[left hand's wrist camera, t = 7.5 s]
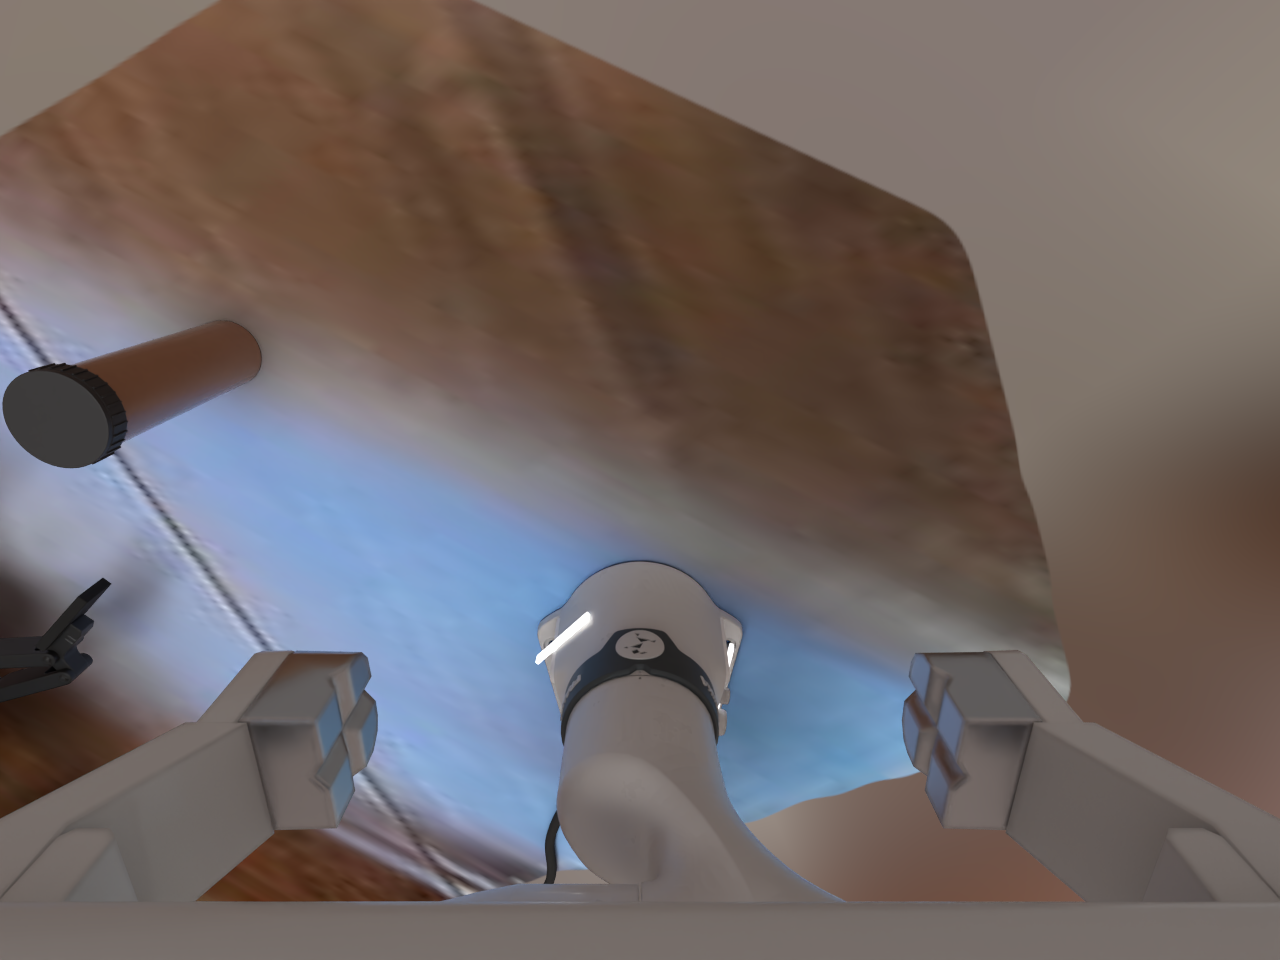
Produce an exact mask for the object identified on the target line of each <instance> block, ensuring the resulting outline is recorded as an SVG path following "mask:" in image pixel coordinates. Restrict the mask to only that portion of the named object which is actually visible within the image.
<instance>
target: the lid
mask: <svg viewBox="0 0 1280 960" xmlns="http://www.w3.org/2000/svg"><path fill="white" fill-rule="evenodd" d="M28 371H29V372H26V373H24V374H21V375H20V376H18V377H16V378H15V379H14V380H13V381H12V382H11V383H10V384H9V386H8V387H7V389H6V391H5V394H4V397H3V414H4V418H5V422H6V424H7V426H8V429H9V430H10V432H11V434H12V435H13V437H14V438H15V439H16V441H17V442H18V443H19V444H20V445H21V446H22V447H23V448H24V449H25V450H26V451H27V452H29V453H30V454H31V455H33V456H34V457H36V458H38V459H39V460H41V461H43V462H45V463H48V464H51V465H54V466H57V467H63V468H80V467H84V466H87V465H90V464H95V463H97V462H99V461H101V460H103V459H105V458H107V457H108V456H110V455H113V454H114V451H116V450H117V449H119V448H121V446H120V445H121V444H122V442H123V441H125V440H126V439H124V438H125V436H126V433H127V432H128V430H127V423H128V421H127V417H126V411H125V409H124V407H123V404H122V401H121V400H120V399H119V397H118V396H117V394H116V391H114V390H113V389H112V388H111V387H110V386H109V385H108V383H107V382H105V381H104V380H102V379H101V378H100V377H98V376H99V375H95V374H94V373H92V372H90V371H88V369H83V368H80V367H77V365H67V364H66V363H62V364H57V365H55V363H53V364H49V365H46V366H42V367H38V368H35V369H31V370H28Z"/></svg>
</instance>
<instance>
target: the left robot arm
mask: <svg viewBox="0 0 1280 960" xmlns="http://www.w3.org/2000/svg"><path fill="white" fill-rule="evenodd" d="M538 639H539V643H540V646H541V649H542V652H541V653H540V654H538V655H537V659H536V663H537V664H539V663H540V662H542V661H543V660H544V659H545V663H546V666H547V670H548V673H549V676H550V681H551V683H552V686H553V690H554V693H555V697H556V700H557V703H558V707H559V710H560V714H561V721H562V722H561V737H562V743H563V746H564V749H563V757H562V764H561V771H560V779H559V786H558V794H557V811H556V813H555V815H554V817H553V819H552V821H551V823H550V826H549V829H548V832H547V835H546V840H545V854H546V861H547V876H546V880H545V882H544V884H516V885H511V886H506V887H501V888H496V889H491V890H486V891H481V892H477V893H473V894H469V895H465V896H461V897H457V898H453V899H449V900H445V901H441V902H195V901H196V900H197V899H198V898H199V897H200V896H202V895H203V894H204V893H205V892H206V891H207V890H209V889H210V888H211V887H212V886H213V885H214V884H216V883H217V882H218V881H219V880H220V879H221V878H223V877H224V876H225V875H226V874H227V873H228V872H230V871H231V870H232V869H233V868H234V867H235V866H237V865H238V864H239V863H240V862H241V861H242V860H244V859H245V858H246V857H247V856H248V855H249V854H251V853H252V852H253V851H254V850H255V849H256V848H258V847H259V846H260V845H261V844H262V843H263V842H265V841H266V840H267V839H268V838H269V837H270V836H272V835H273V834H274V830H290V829H324V828H337V827H338V825H339V822H340V820H341V818H342V816H343V814H344V812H345V810H346V808H347V806H348V804H349V802H350V800H351V798H352V796H353V794H354V791H355V787H354V782H353V776H354V775H355V774H357V773H358V772H359V771H361V770H362V769H363V768H365V767H366V766H367V764H368V762H369V760H370V757H371V755H372V753H373V750H374V746H375V741H376V736H377V731H378V714H377V707H376V701H375V700H374V699H373V698H372V697H371V696H370V695H369V694H368V693H367V692H366V691H365V690H364V689H365V687H366V685H367V683H368V682H369V680H370V678H371V672H370V667H369V662H368V658H367V657H366V656H365V655H364V654H363V653H362V652H328V651H295V652H294V651H261V652H258V653H256V654H254V655H253V656H252V657H251V658H250V660H249V661H248V662H247V663H246V664H245V666H244V667H243V668H242V669H241V670H240V671H239V673H238V674H237V675H236V676H235V677H234V679H233V680H232V681H231V682H230V683H229V685H228V686H227V687H226V688H225V689H224V690H223V692H222V693H221V694H220V695H219V696H218V698H217V699H216V700H215V701H214V702H213V703H212V705H211V706H210V707H209V708H208V709H207V711H206V712H205V713H204V714H203V715H202V717H201V718H200V719H199V720H198V721H197V722H196V723H184V724H182V725H180V726H178V727H176V728H174V729H172V730H170V731H168V732H166V733H164V734H163V735H161V736H159V737H157V738H155V739H153V740H151V741H149V742H147V743H145V744H143V745H141V746H139V747H137V748H136V749H134V750H132V751H130V752H128V753H126V754H124V755H122V756H120V757H118V758H116V759H114V760H112V761H110V762H109V763H107V764H105V765H103V766H101V767H99V768H97V769H95V770H93V771H91V772H89V773H87V774H85V775H83V776H82V777H80V778H78V779H76V780H74V781H72V782H70V783H68V784H66V785H64V786H62V787H60V788H58V789H56V790H55V791H53V792H51V793H49V794H47V795H45V796H43V797H41V798H39V799H37V800H35V801H33V802H31V803H29V804H28V805H26V806H24V807H22V808H20V809H18V810H16V811H14V812H12V813H10V814H8V815H6V816H4V817H2V818H1V819H0V960H1280V819H1279V818H1277V817H1275V816H1273V815H1271V814H1269V813H1267V812H1265V811H1264V810H1262V809H1260V808H1258V807H1256V806H1254V805H1252V804H1250V803H1248V802H1246V801H1244V800H1242V799H1240V798H1239V797H1237V796H1235V795H1233V794H1231V793H1229V792H1227V791H1225V790H1223V789H1221V788H1219V787H1217V786H1215V785H1214V784H1212V783H1210V782H1208V781H1206V780H1204V779H1202V778H1200V777H1198V776H1196V775H1194V774H1192V773H1190V772H1188V771H1187V770H1185V769H1183V768H1181V767H1179V766H1177V765H1175V764H1173V763H1171V762H1169V761H1167V760H1165V759H1164V758H1162V757H1160V756H1158V755H1156V754H1154V753H1152V752H1150V751H1148V750H1146V749H1144V748H1142V747H1141V746H1139V745H1137V744H1135V743H1133V742H1131V741H1129V740H1127V739H1125V738H1123V737H1121V736H1119V735H1117V734H1115V733H1114V732H1112V731H1110V730H1108V729H1106V728H1104V727H1102V726H1100V725H1098V724H1096V723H1084V722H1083V721H1082V720H1081V719H1080V718H1079V717H1078V715H1077V714H1076V713H1075V712H1074V711H1073V709H1072V708H1071V707H1070V706H1069V705H1068V704H1067V702H1066V701H1065V700H1064V699H1063V698H1062V696H1061V695H1060V694H1059V693H1058V692H1057V691H1056V689H1055V688H1054V687H1053V686H1052V685H1051V683H1050V682H1049V681H1048V680H1047V679H1046V678H1045V676H1044V675H1043V674H1042V673H1041V672H1040V670H1039V669H1038V668H1037V667H1036V666H1035V664H1034V663H1033V662H1032V661H1031V660H1030V659H1029V657H1028V656H1027V655H1026V654H1024V653H1022V652H1020V651H1018V650H1010V651H984V652H958V653H915V655H914V657H913V659H912V661H911V666H910V671H909V678H910V680H911V682H912V683H913V685H914V687H915V689H916V690H915V691H914V692H913V693H912V694H911V695H910V696H909V697H908V698H907V699H906V700H905V701H904V708H903V716H902V726H903V739H904V742H905V746H906V750H907V753H908V755H909V757H910V760H911V762H912V764H913V766H914V767H915V768H917V769H918V770H919V771H921V772H922V773H924V774H925V775H926V776H927V782H926V787H925V791H926V794H927V796H928V798H929V800H930V802H931V804H932V806H933V808H934V810H935V812H936V814H937V816H938V818H939V820H940V822H941V824H942V826H943V828H954V829H991V830H1006V833H1007V834H1008V835H1009V836H1010V837H1011V838H1012V839H1013V840H1015V841H1016V842H1017V843H1018V844H1019V845H1020V846H1022V847H1023V848H1024V849H1025V850H1026V851H1027V852H1029V853H1030V854H1031V855H1032V856H1033V857H1034V858H1035V859H1037V860H1038V861H1039V862H1040V863H1041V864H1043V865H1044V866H1045V867H1046V868H1047V869H1048V870H1049V871H1051V872H1052V873H1053V874H1054V875H1055V876H1056V877H1058V878H1059V879H1060V880H1061V881H1062V882H1063V883H1065V884H1066V885H1067V886H1068V887H1069V888H1070V889H1072V890H1073V891H1074V892H1075V893H1076V894H1078V895H1079V896H1080V897H1081V898H1082V899H1083V900H1084V901H1086V902H846V901H844V900H842V899H840V898H838V897H836V896H834V895H832V894H830V893H828V892H826V891H824V890H822V889H820V888H819V887H817V886H816V885H814V884H812V883H811V882H809V881H807V880H806V879H804V878H802V877H801V876H800V875H798V874H797V873H795V872H794V871H793V870H791V869H790V868H789V867H787V866H786V865H785V864H784V863H782V862H781V861H780V860H779V859H778V858H777V857H775V856H774V855H773V854H772V853H771V852H770V851H769V850H768V849H767V848H766V847H765V846H764V845H763V844H762V843H761V842H760V841H759V840H758V839H757V838H756V837H755V836H754V835H753V833H752V832H751V831H750V830H749V829H748V828H747V826H746V825H745V824H744V823H743V821H742V820H741V819H740V817H739V816H738V814H737V813H736V811H735V809H734V808H733V806H732V804H731V802H730V800H729V797H728V795H727V791H726V788H725V784H724V780H723V777H722V773H721V768H720V764H719V759H718V753H717V748H716V746H717V743H718V737H719V736H722V735H724V734H725V731H726V725H727V713H726V710H724V709H721V707H722V704H728V703H729V699H730V689H729V688H727V687H728V683H729V681H730V676H731V673H732V670H733V666H734V663H735V660H736V656H737V653H738V649H739V646H740V643H741V639H742V625H741V623H740V622H739V621H738V620H737V619H736V618H735V617H733V616H732V615H730V614H728V613H727V612H725V611H723V610H721V609H719V608H718V607H717V606H716V605H715V604H714V603H713V601H712V600H711V599H710V597H709V596H708V594H707V593H706V592H705V590H704V589H703V588H702V587H701V586H700V585H699V584H698V583H697V582H696V581H695V580H693V579H692V578H691V577H689V576H688V575H686V574H685V573H683V572H681V571H679V570H677V569H675V568H672V567H669V566H666V565H663V564H658V563H653V562H627V563H622V564H617V565H614V566H611V567H608V568H605V569H603V570H601V571H599V572H597V573H595V574H594V575H592V576H591V577H589V578H588V579H587V580H585V581H584V582H583V583H582V584H581V585H580V586H579V587H578V588H577V589H576V590H575V592H574V593H573V594H572V596H571V597H570V599H569V600H568V601H567V603H566V604H565V605H564V606H563V607H562V608H561V609H559V610H557V611H555V612H553V613H552V614H550V615H548V616H547V617H545V618H544V619H543V620H542V621H541V622H540V623H539V625H538ZM551 640H554V641H553V642H552V643H551V642H550V641H551ZM726 640H729V641H730V642H729V643H727V644H726ZM559 826H561V829H562V832H563V834H564V836H565V838H566V840H567V841H568V843H569V844H570V846H571V848H572V849H573V851H574V852H575V853H576V855H577V856H578V858H579V859H580V860H581V861H582V863H583V864H584V865H585V866H586V867H587V868H588V869H589V870H590V871H591V872H593V873H594V874H595V875H596V876H598V877H599V878H601V879H603V880H604V881H606V882H607V883H609V884H554V880H555V877H556V858H555V848H554V844H555V837H556V833H557V830H558V828H559Z"/></svg>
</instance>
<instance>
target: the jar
mask: <svg viewBox="0 0 1280 960" xmlns="http://www.w3.org/2000/svg"><path fill="white" fill-rule="evenodd" d="M72 365H77V367H80V368H83V369H88V371H90V372H92V373H94V374H95V375H99V376H98V377H100V378H101V379H102V380H104V381H105V382H107V383H108V385H109V386H110V387H111V388H112V389H113V390H114V391H116V394H117V396H118V397H119V399H120V400H121V401H122V404H123V407H124V409H125V411H126V417H127V421H128V423H127V430H128V432H127V433H126V436H125V438H124V439H126V440H125V441H127V440H129V439H131V438H133V437H135V436H137V435H139V434H141V433H144V432H146V431H148V430H150V429H152V428H154V427H156V426H158V425H160V424H162V423H164V422H166V421H168V420H170V419H172V418H174V417H177V416H179V415H181V414H183V413H185V412H187V411H189V410H191V409H193V408H195V407H197V406H199V405H201V404H203V403H205V402H207V401H210V400H212V399H214V398H216V397H218V396H220V395H222V394H224V393H226V392H228V391H230V390H232V389H234V388H236V387H238V386H240V385H242V384H245V383H247V382H248V381H250V380H252V379H253V378H254V377H255V376H256V375H257V373H258V371H259V369H260V366H261V352H260V349H259V346H258V344H257V342H256V340H255V339H254V337H253V336H252V335H251V334H250V333H249V332H248V331H247V330H246V329H244V328H243V327H241V326H240V325H238V324H236V323H233V322H230V321H221V320H220V321H214V322H210V323H207V324H203V325H200V326H197V327H194V328H190V329H187V330H184V331H180V332H177V333H174V334H171V335H167V336H164V337H161V338H157V339H154V340H151V341H148V342H144V343H141V344H138V345H134V346H131V347H128V348H125V349H121V350H118V351H115V352H111V353H108V354H105V355H102V356H98V357H95V358H92V359H88V360H85V361H82V362H79V363H75V364H72ZM125 441H123V442H125ZM123 442H122V443H123Z"/></svg>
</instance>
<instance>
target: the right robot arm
mask: <svg viewBox="0 0 1280 960" xmlns="http://www.w3.org/2000/svg"><path fill="white" fill-rule="evenodd" d="M110 585H111V583H110V582H108V581H107V580H105V579H104V578H102V579H100V580H99V581H98V582H97V583H95V584H94V585H93V586H91V587H90V588H89V589H87V590H86V591H85V592H83V593H82V594H81V595H79V596H78V597H77V598H76V599H75V601H74V602H73V603H72V604H71V605H70V606H69V607H68V609H67V610H66V611H65V612H64V613H63V614H62V615H61V616H60V618H59V619H58V620H57V621H56V622H55V623H54V624H53V626H52V627H51V628H50V629H49V630H48V631H47V632H46V633H45V635H44V636H42V637H20V638H0V669H2V668H23V667H30V668H27V669H23V670H19V671H16V672H12V673H9V674H7V675H5V676H4V677H2V678H1V677H0V702H4V701H8V700H11V699H15V698H19V697H22V696H26V695H30V694H34V693H37V692H41V691H45V690H48V689H52V688H56V687H59V686H63V685H67V684H69V683H71V682H72V681H73V680H74V679H75V678H76V677H78V676H79V675H80V674H81V673H82V672H83V671H84V670H85V669H86V668H88V667H89V666H90V665H91V664H92V662H93V660H92V658H91V657H90V656H89V655H88V654H84V653H81V654H80V653H79V652H78V650H77V645H78V644H79V643H80V642H81V641H82V640H83V638H84V636H85V634H86V633H87V632H88V631H89V630H90V629H91V628H92V627H93V624H94V621H93V620H92V619H90V618H89V617H87V616H86V615H84V614H85V613H86V612H87V610H88V609H89V608H90V607H91V606H92V605H93V604H94V603H95V602H96V600H97V599H98V598H99V597H100V596H101V595H102V594H103V593H104V592H105V590H106V589H107V588H108V587H109V586H110Z"/></svg>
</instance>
